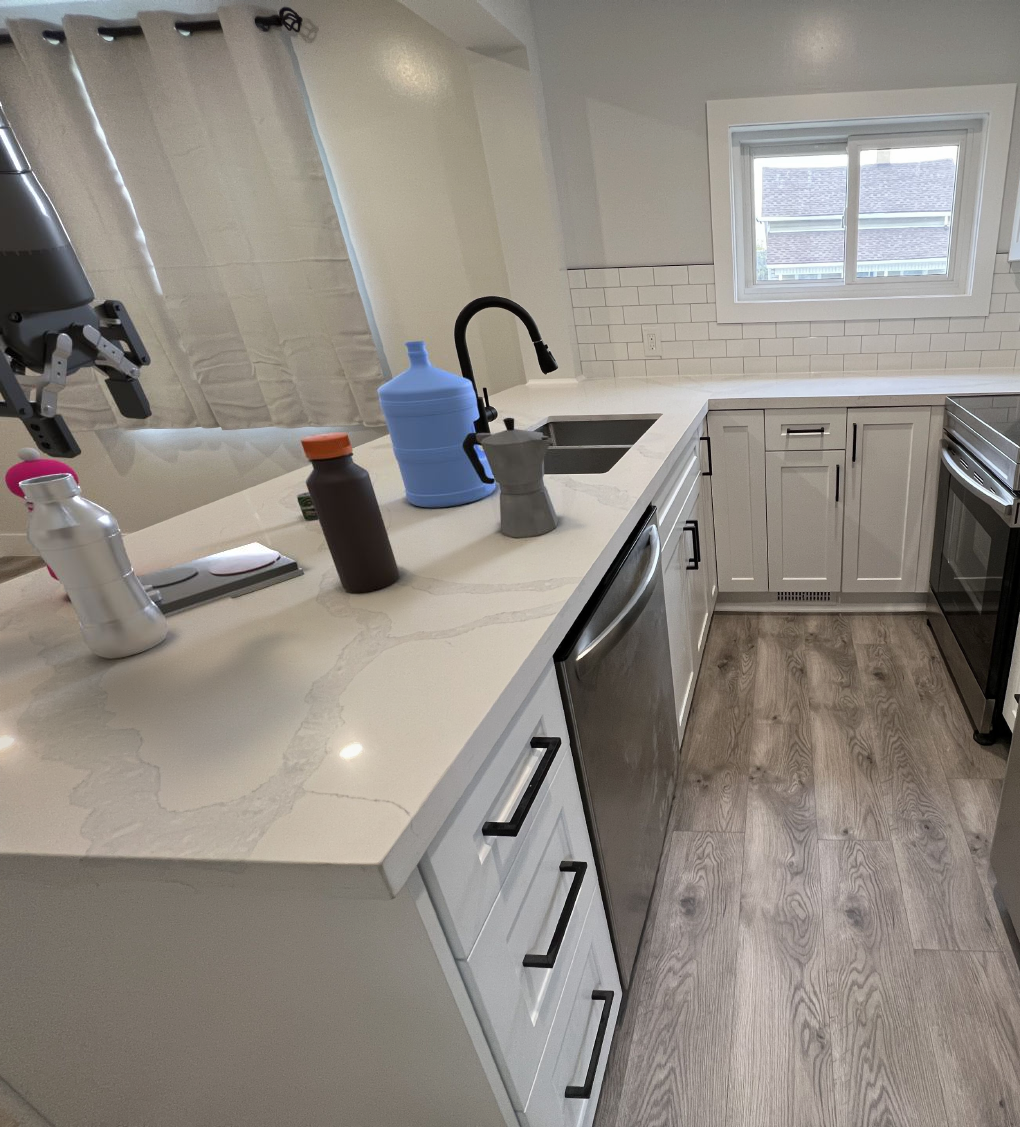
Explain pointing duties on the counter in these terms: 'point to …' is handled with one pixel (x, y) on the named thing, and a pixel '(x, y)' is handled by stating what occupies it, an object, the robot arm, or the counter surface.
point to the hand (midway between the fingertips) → (104, 435)
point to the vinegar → (349, 514)
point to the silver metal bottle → (92, 568)
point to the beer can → (307, 506)
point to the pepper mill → (34, 475)
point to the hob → (217, 577)
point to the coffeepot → (516, 478)
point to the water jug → (433, 433)
